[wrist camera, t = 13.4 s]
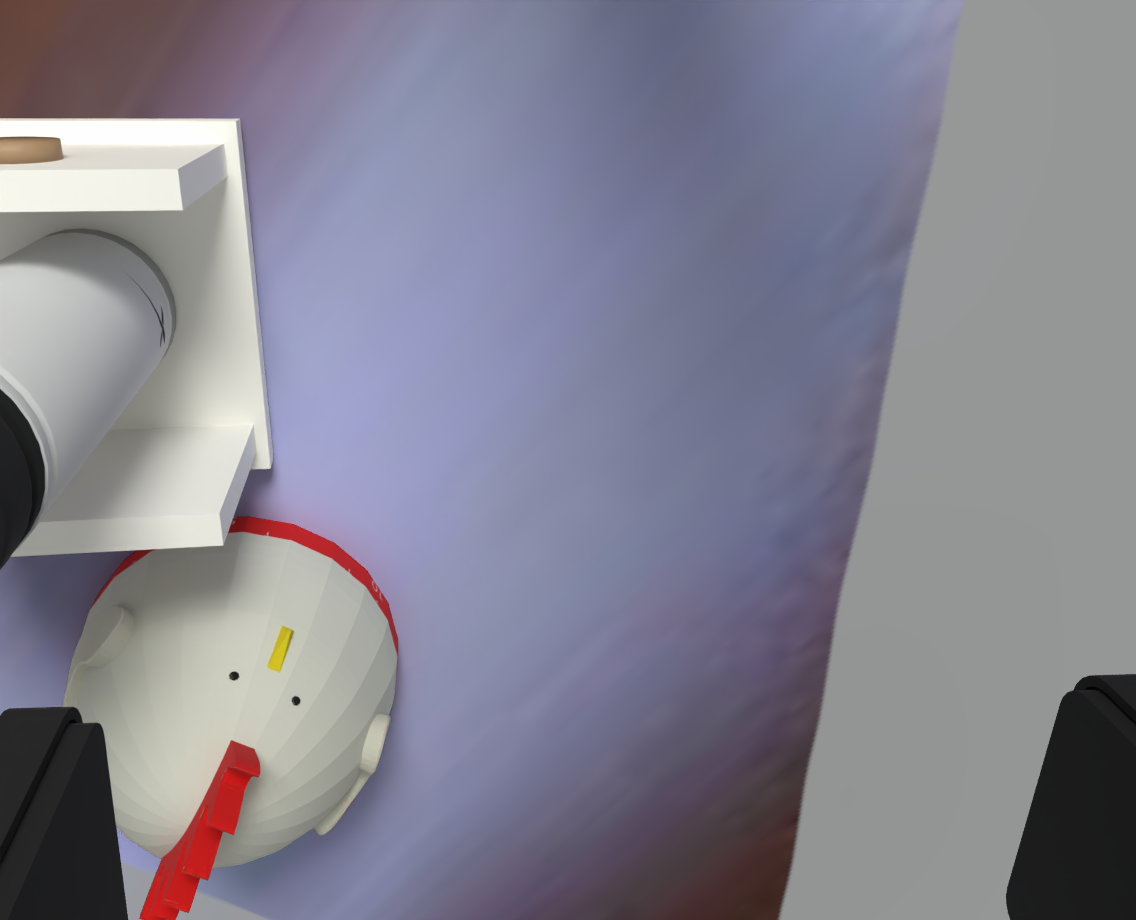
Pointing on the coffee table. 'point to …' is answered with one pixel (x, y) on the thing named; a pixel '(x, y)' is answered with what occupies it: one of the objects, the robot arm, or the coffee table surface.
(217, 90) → the coffee table surface
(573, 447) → the coffee table surface
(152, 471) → the holder
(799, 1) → the coffee table surface
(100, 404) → the travel mug
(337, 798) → the kitchen timer
